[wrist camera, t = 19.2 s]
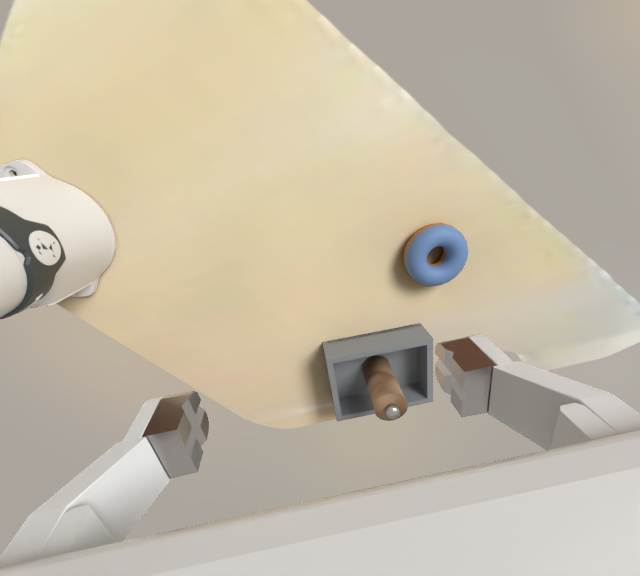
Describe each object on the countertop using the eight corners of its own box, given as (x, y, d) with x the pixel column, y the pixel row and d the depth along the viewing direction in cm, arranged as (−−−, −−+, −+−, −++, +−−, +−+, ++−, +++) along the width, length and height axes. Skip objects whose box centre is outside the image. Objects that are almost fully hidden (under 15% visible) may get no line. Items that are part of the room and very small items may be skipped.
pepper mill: (364, 380, 58) (379, 430, 47) (359, 359, 55) (374, 406, 45) (391, 374, 57) (412, 422, 47) (386, 352, 55) (408, 397, 45)
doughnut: (424, 293, 52) (437, 302, 48) (387, 254, 49) (398, 260, 45) (467, 251, 51) (485, 256, 47) (432, 208, 48) (448, 210, 44)
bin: (332, 401, 60) (337, 421, 55) (322, 342, 54) (326, 359, 49) (421, 383, 61) (432, 401, 56) (420, 323, 55) (433, 338, 50)
